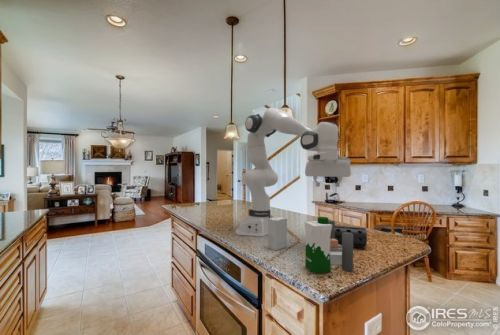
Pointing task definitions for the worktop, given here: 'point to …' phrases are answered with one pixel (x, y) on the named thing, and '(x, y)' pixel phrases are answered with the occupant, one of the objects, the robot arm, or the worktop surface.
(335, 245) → the block
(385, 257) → the worktop surface
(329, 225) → the soya milk
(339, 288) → the worktop surface
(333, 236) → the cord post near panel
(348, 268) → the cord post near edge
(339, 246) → the panel
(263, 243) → the worktop surface
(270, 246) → the skincare box
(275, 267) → the worktop surface
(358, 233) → the muzzle brake
